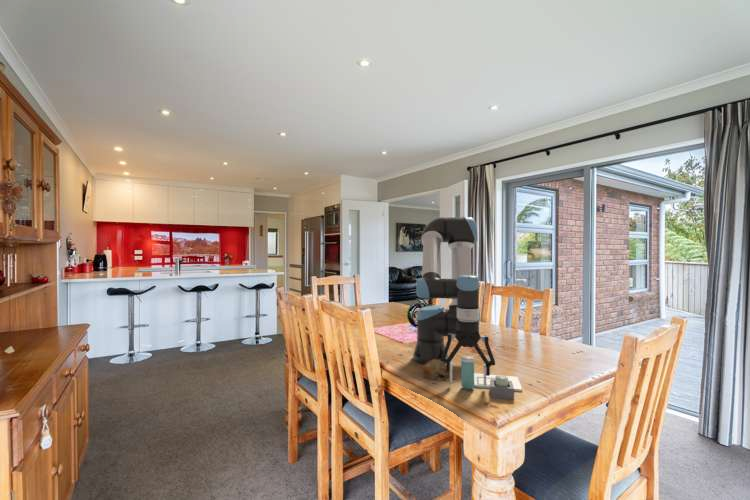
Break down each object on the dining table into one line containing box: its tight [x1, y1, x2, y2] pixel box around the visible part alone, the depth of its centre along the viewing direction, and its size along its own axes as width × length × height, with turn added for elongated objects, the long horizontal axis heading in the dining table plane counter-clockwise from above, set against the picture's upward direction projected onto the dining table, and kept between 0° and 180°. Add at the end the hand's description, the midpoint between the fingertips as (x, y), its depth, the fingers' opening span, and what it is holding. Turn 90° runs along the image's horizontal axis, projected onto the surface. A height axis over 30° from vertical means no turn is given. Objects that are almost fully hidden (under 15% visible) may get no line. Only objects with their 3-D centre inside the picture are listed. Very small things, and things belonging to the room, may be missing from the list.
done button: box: [495, 374, 508, 387], centre depth 118 cm, size 4×4×4 cm
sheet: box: [474, 372, 523, 393], centre depth 128 cm, size 16×12×1 cm
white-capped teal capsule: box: [460, 355, 475, 391], centre depth 123 cm, size 4×4×11 cm
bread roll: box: [421, 359, 450, 381], centre depth 135 cm, size 10×10×8 cm
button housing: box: [489, 379, 515, 401], centre depth 118 cm, size 7×7×4 cm
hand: (467, 382), depth 123 cm, fingers open, 11 cm apart
